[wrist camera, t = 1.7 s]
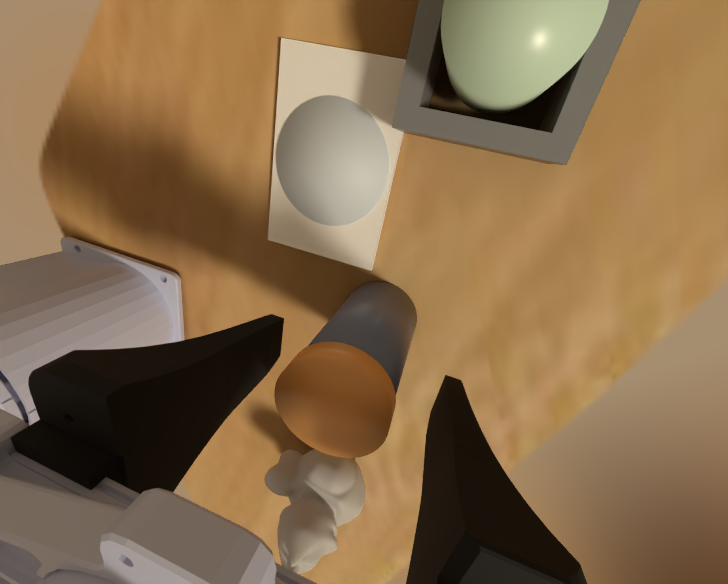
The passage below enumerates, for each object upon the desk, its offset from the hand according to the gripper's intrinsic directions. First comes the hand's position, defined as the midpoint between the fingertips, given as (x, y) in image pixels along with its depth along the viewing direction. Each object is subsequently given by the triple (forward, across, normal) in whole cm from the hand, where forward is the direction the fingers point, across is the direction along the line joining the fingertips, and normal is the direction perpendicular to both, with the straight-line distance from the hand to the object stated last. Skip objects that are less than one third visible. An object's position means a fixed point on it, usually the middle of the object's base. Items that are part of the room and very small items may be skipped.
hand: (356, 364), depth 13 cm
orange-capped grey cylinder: (+5, 0, 0) cm, 5 cm away
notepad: (+5, +4, -7) cm, 9 cm away
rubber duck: (+5, +1, +12) cm, 13 cm away
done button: (+3, -2, -12) cm, 13 cm away
